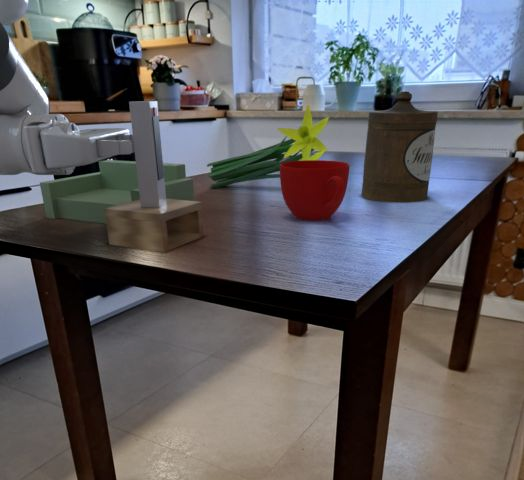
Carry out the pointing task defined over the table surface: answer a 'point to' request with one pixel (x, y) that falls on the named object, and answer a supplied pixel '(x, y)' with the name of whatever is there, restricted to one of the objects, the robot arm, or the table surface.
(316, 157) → the daffodil flowers
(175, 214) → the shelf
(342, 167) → the ceramic cup
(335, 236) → the table surface
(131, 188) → the sofa
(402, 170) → the wooden container
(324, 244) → the table surface
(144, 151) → the grey rectangular block
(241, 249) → the table surface
